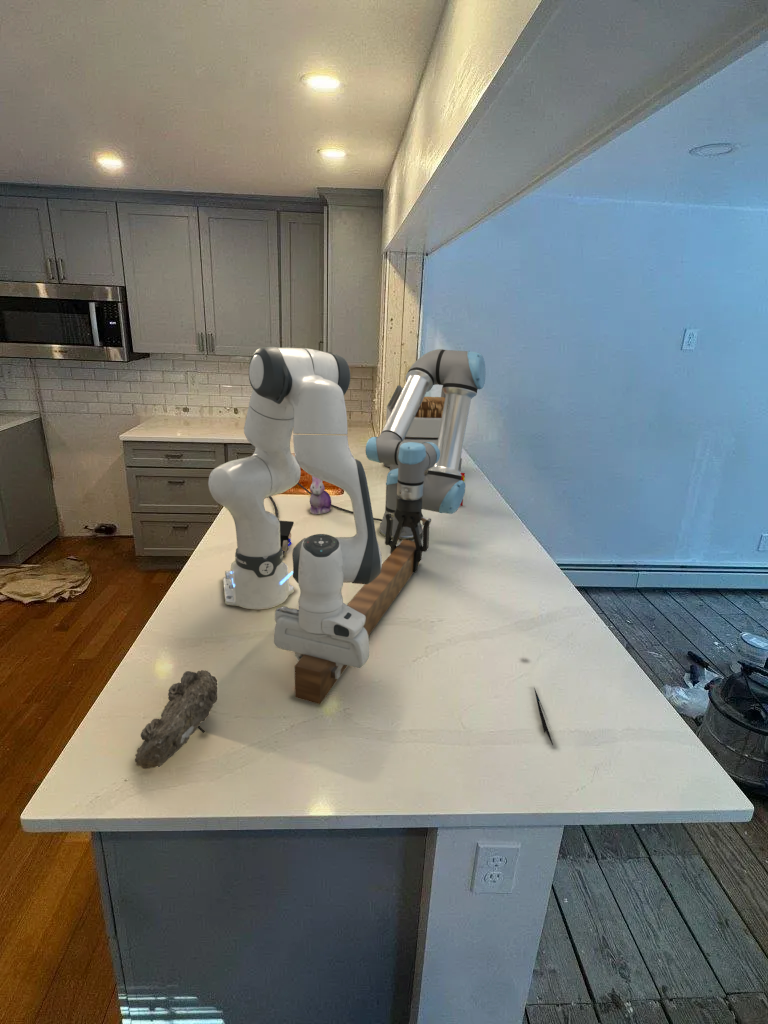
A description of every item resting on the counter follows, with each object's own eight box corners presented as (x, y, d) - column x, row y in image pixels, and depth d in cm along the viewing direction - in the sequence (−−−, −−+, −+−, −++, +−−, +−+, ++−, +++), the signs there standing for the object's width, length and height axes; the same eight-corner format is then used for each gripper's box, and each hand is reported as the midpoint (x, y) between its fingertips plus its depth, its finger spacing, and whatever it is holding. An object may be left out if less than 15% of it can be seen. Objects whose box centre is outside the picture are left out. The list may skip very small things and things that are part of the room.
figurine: (313, 516, 212) (313, 478, 207) (304, 507, 221) (303, 470, 215) (336, 513, 216) (337, 475, 211) (326, 505, 225) (327, 468, 220)
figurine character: (288, 562, 177) (294, 539, 190) (288, 541, 173) (294, 518, 187) (267, 561, 177) (274, 538, 190) (266, 540, 173) (273, 518, 187)
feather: (525, 664, 131) (530, 658, 130) (552, 749, 104) (559, 742, 103) (519, 660, 130) (524, 654, 130) (545, 745, 104) (552, 738, 103)
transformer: (382, 463, 289) (386, 382, 275) (445, 464, 293) (451, 384, 279) (390, 482, 257) (394, 392, 243) (460, 483, 261) (468, 394, 247)
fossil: (167, 671, 114) (219, 638, 109) (200, 702, 116) (252, 671, 112) (109, 762, 94) (169, 727, 89) (151, 796, 97) (212, 765, 92)
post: (402, 561, 178) (403, 539, 176) (419, 564, 177) (420, 542, 174) (294, 697, 115) (294, 665, 112) (320, 704, 113) (320, 672, 110)
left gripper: (266, 611, 114) (268, 670, 118) (361, 633, 108) (359, 694, 112) (282, 597, 119) (283, 653, 124) (373, 617, 113) (371, 676, 118)
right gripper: (375, 495, 164) (372, 568, 172) (437, 505, 158) (431, 579, 166) (383, 488, 170) (380, 558, 178) (444, 497, 165) (438, 569, 173)
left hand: (320, 673), depth 118 cm, fingers closed on post, 5 cm apart
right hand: (405, 568), depth 172 cm, fingers closed on post, 6 cm apart
